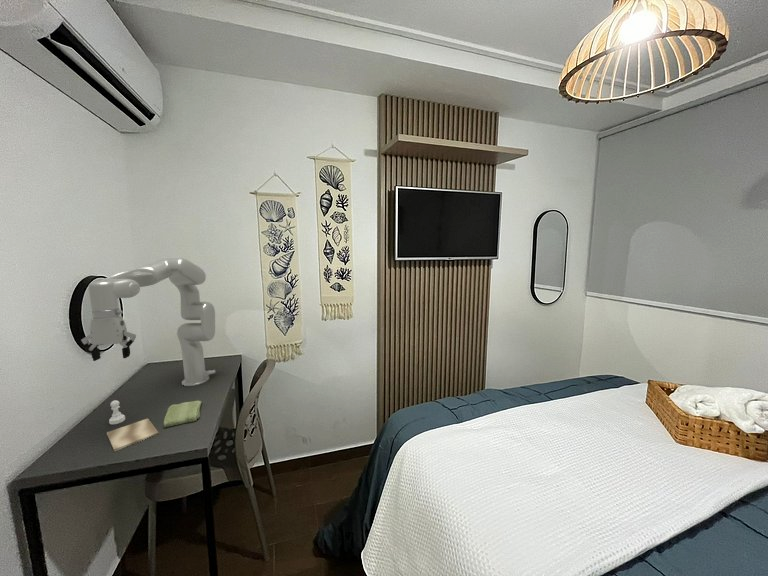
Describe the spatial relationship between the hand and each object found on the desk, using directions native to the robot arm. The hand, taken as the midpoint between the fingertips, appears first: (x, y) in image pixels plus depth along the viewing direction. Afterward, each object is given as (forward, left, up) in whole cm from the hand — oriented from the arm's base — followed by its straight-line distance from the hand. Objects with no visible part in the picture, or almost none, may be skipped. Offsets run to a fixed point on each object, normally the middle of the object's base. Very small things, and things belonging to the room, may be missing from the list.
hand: (111, 358), depth 120 cm
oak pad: (-2, +8, -29) cm, 30 cm away
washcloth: (-19, +7, -30) cm, 36 cm away
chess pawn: (0, -9, -29) cm, 30 cm away
